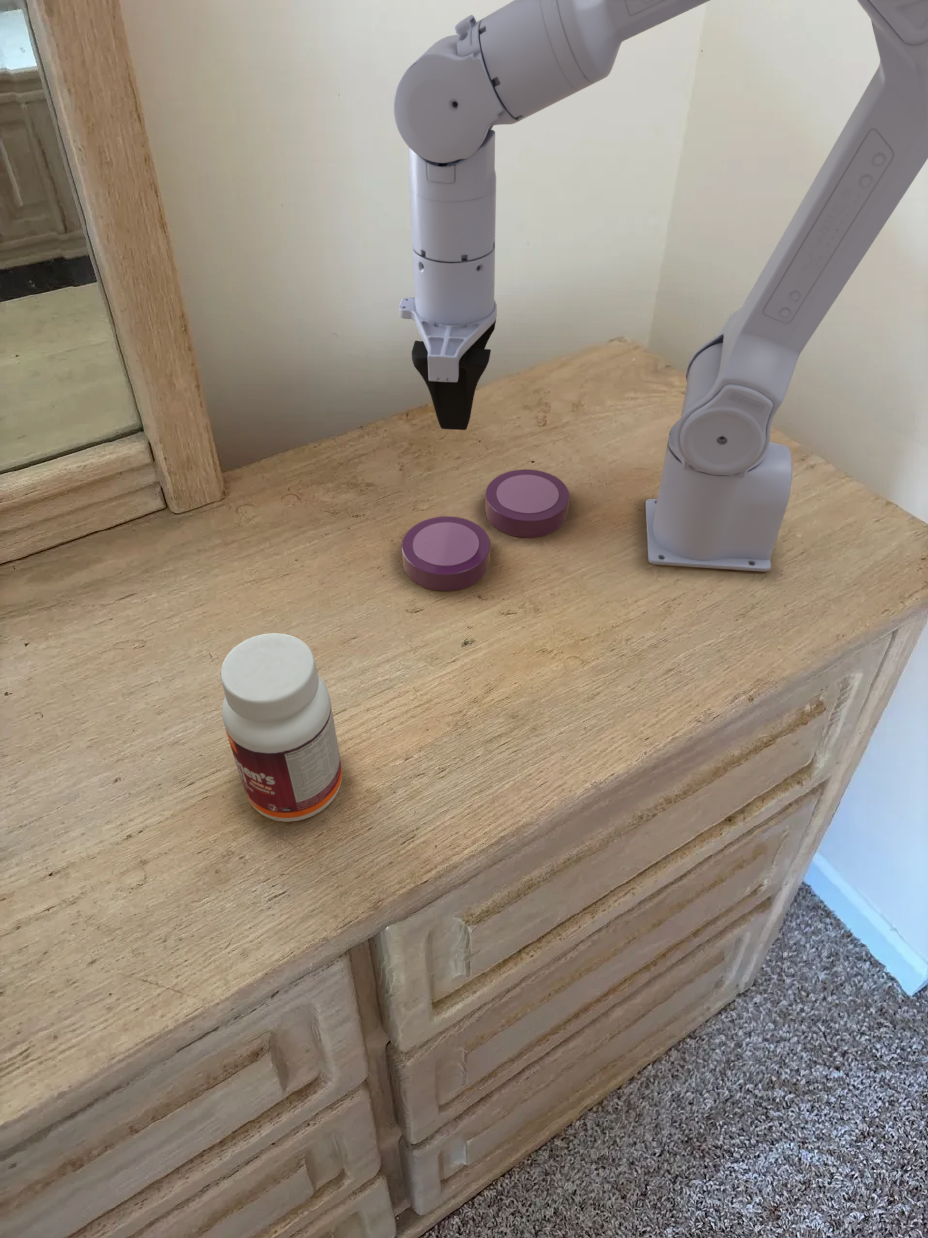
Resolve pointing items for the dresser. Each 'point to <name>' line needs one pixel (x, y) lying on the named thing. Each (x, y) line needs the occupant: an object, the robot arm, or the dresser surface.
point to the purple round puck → (527, 503)
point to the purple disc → (446, 553)
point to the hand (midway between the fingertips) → (456, 415)
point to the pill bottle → (280, 727)
